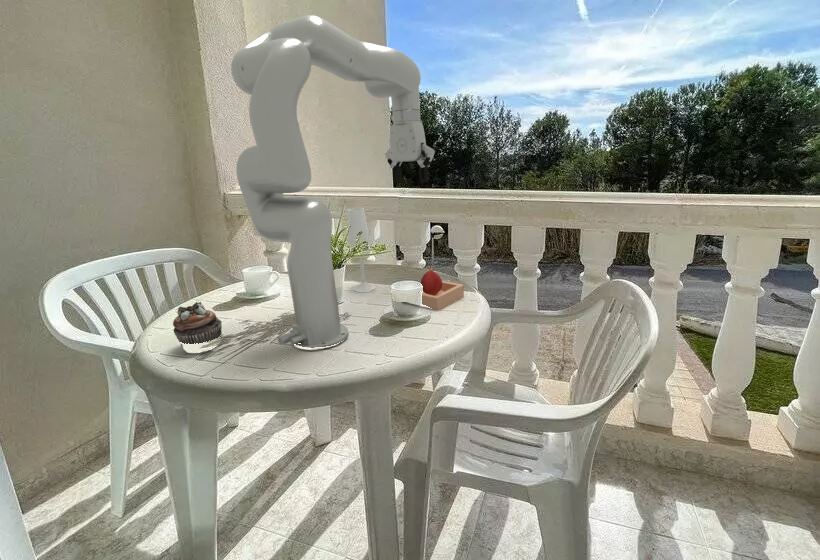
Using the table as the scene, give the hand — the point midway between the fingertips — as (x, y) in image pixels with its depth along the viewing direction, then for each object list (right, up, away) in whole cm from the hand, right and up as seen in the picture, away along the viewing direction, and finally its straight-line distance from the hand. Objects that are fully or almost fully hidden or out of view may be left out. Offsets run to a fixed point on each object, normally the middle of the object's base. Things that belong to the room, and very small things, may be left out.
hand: (410, 182), depth 120 cm
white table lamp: (-14, -31, +8) cm, 35 cm away
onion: (+6, -33, -6) cm, 34 cm away
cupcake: (-47, -43, -24) cm, 68 cm away
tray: (+6, -33, -5) cm, 34 cm away
